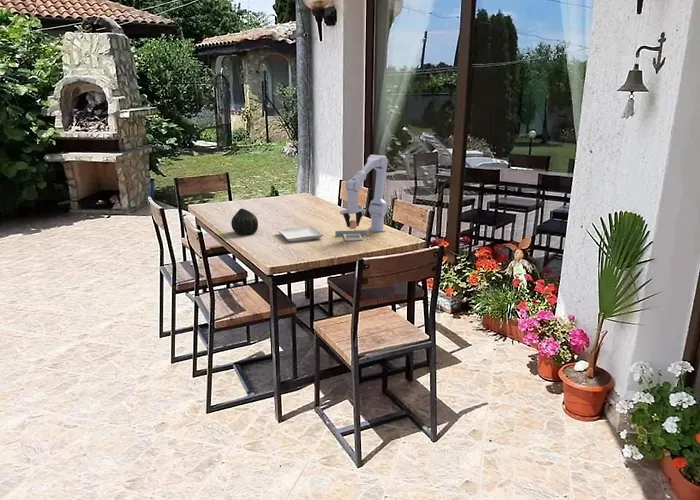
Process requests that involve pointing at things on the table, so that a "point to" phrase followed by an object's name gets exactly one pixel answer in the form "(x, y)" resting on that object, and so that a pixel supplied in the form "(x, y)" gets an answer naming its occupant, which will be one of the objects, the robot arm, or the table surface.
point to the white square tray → (352, 237)
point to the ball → (352, 224)
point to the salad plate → (300, 233)
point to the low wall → (351, 232)
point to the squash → (244, 222)
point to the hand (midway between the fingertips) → (352, 226)
